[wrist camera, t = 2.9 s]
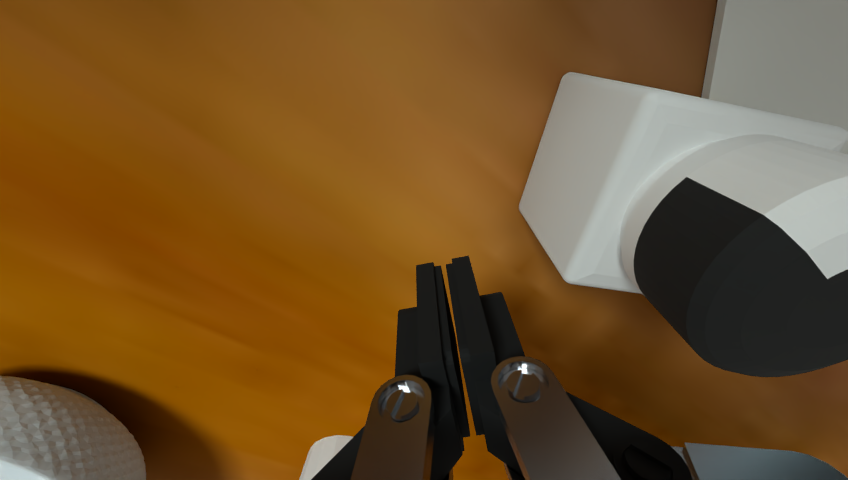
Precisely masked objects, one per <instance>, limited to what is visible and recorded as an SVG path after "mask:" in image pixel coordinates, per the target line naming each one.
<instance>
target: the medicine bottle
mask: <svg viewBox="0 0 848 480" xmlns="http://www.w3.org/2000/svg"><path fill="white" fill-rule="evenodd" d="M847 140H848V132H847V131H846V130H844V129H843V128H841V127H838V126H833V125H829V124H824V123H819V122H814V121H810V120H805V119H800V118H795V117H790V116H786V115H781V114H776V113H771V112H767V111H762V110H757V109H752V108H748V107H743V106H738V105H733V104H729V103H724V102H719V101H714V100H709V99H705V98H700V97H695V96H690V95H686V94H681V93H676V92H671V91H667V90H662V89H657V88H652V87H647V86H642V85H636V84H631V83H626V82H621V81H616V80H611V79H605V78H600V77H595V76H590V75H585V74H580V73H574V72H569V73H567V74H565V75H564V76H563V77H562V79H561V82H560V85H559V88H558V91H557V94H556V97H555V100H554V103H553V106H552V108H551V111H550V114H549V117H548V120H547V123H546V126H545V129H544V132H543V135H542V138H541V141H540V144H539V147H538V150H537V153H536V156H535V159H534V162H533V165H532V168H531V171H530V174H529V177H528V180H527V183H526V186H525V189H524V192H523V195H522V198H521V201H520V204H519V210H520V212H521V214H522V215H523V217H524V218H525V220H526V221H527V223H528V225H529V226H530V228H531V229H532V231H533V232H534V234H535V236H536V237H537V239H538V240H539V242H540V243H541V245H542V246H543V248H544V250H545V251H546V253H547V254H548V256H549V257H550V259H551V261H552V262H553V264H554V265H555V267H556V268H557V270H558V271H559V273H560V275H561V276H562V278H563V279H564V281H566V282H567V283H570V284H575V285H582V286H589V287H597V288H604V289H611V290H618V291H626V292H633V293H640V294H643V295H644V296H645V297H646V298H647V299H648V300H649V302H650V303H651V304H652V305H653V306H654V307H655V308H656V309H657V310H658V311H659V313H660V314H661V315H662V316H663V317H664V318H665V319H666V320H667V321H668V322H669V323H670V325H671V326H672V327H673V328H674V329H675V330H676V331H677V332H678V333H679V334H680V335H681V337H682V338H683V339H684V340H685V341H686V342H687V343H688V344H689V345H690V346H691V347H692V349H693V350H694V351H695V352H696V353H697V354H698V355H699V356H700V357H701V358H703V359H704V360H705V361H706V362H708V363H710V364H712V365H713V366H715V367H718V368H721V369H723V370H727V371H731V372H736V373H740V374H745V375H750V376H758V377H780V376H789V375H796V374H801V373H806V372H810V371H814V370H817V369H821V368H824V367H827V366H830V365H833V364H836V363H839V362H842V361H845V360H848V154H844V153H840V150H841V149H842V148H843V146H844V145H845V144H846V142H847Z"/></svg>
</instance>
